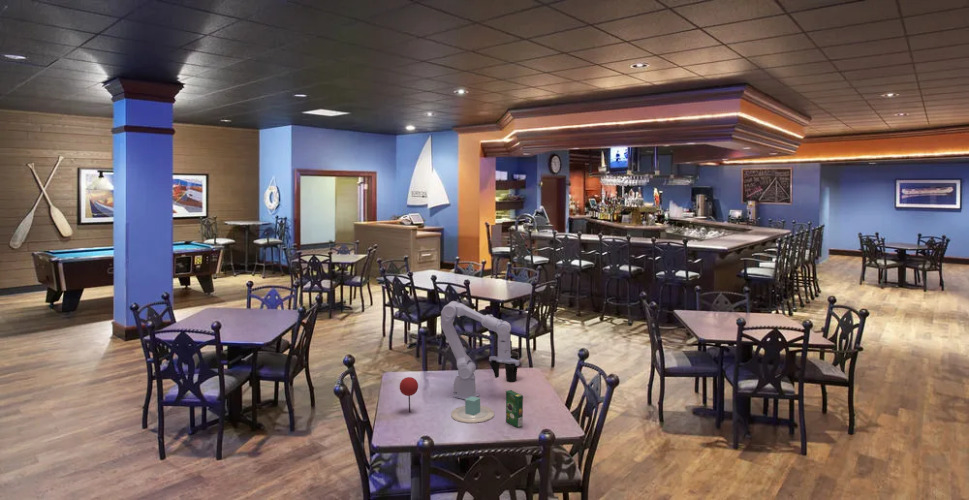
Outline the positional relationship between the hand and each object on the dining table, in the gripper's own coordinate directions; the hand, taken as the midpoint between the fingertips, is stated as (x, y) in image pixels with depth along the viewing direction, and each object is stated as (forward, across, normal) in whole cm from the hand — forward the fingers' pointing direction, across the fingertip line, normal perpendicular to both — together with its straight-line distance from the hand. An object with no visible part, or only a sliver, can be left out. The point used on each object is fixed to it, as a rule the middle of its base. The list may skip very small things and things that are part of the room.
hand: (504, 378), depth 263 cm
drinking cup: (+10, -10, +24) cm, 28 cm away
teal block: (+8, -2, -23) cm, 25 cm away
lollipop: (+10, -27, -34) cm, 44 cm away
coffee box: (+10, +18, -23) cm, 31 cm away
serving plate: (+9, -2, -23) cm, 25 cm away
